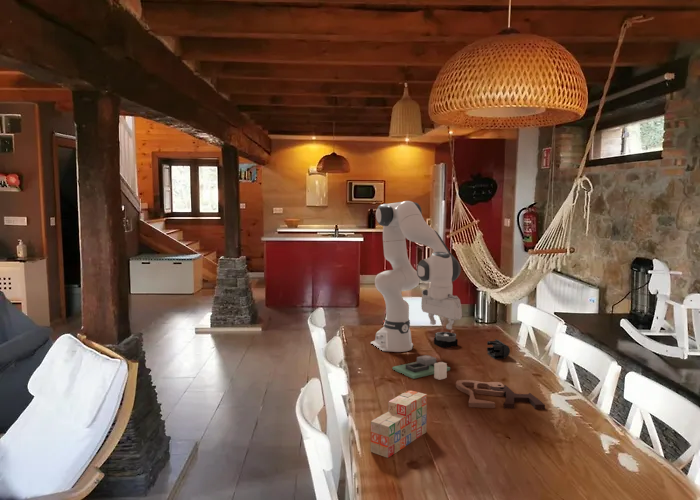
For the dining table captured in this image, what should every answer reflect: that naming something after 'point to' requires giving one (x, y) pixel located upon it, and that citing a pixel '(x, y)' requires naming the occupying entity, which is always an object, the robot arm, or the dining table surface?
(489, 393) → the wood carving
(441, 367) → the plug
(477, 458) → the dining table surface
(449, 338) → the cpu cooler
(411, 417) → the stack of blocks
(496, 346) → the end cap
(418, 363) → the circuit board
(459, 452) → the dining table surface
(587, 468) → the dining table surface
